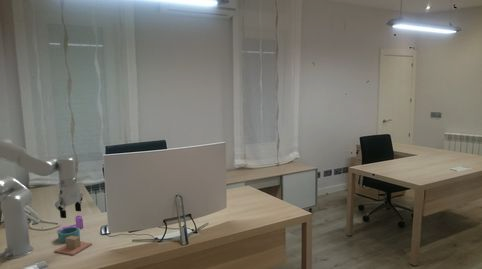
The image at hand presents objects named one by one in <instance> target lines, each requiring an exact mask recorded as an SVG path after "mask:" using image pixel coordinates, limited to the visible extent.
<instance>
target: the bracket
mask: <svg viewBox="0 0 482 269" xmlns="http://www.w3.org/2000/svg"><path fill="white" fill-rule="evenodd" d="M74 219H75V224H71V225H65V226H61V227H59V228H58V232H59V231H60V230H62V229H64V228H68V227H78V228H82V229H84V219H83V216H82V215H81V214H77V215H76V216H75V218H74Z"/></svg>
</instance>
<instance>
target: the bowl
mask: <svg viewBox="0 0 482 269" xmlns="http://www.w3.org/2000/svg"><path fill="white" fill-rule="evenodd" d="M80 234H81V233H80V229H79V228H78V227H68V228H64V229H62V230H60V231H59V230H58V231H57V236H58V237H57V238H58V241H59V243H65V244H66V239H65V238H67V237H69V236H77V237H80V238H81V235H80Z"/></svg>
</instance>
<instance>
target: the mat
mask: <svg viewBox="0 0 482 269" xmlns="http://www.w3.org/2000/svg"><path fill="white" fill-rule="evenodd" d="M89 247H91V246H89ZM89 247H87V248H86V249H88V248H89ZM86 249H84V250H86ZM84 250H82V251H80V252H79V253H81V252H83V251H84ZM53 253H55V254H58V253H57V252H54V251H53ZM79 253H77V254H75V255H70V256H71V257H72V256H73V257H74V256H76V255H78V254H79ZM59 254H61V255H63V254H62V253H59ZM65 255H67V256H69V255H68V254H65Z"/></svg>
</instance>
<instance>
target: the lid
mask: <svg viewBox="0 0 482 269" xmlns="http://www.w3.org/2000/svg"><path fill="white" fill-rule="evenodd" d="M65 239H66V243H65V244H64V245H62V246H60V247H58V248H56V249H55V250H53V253H54V252H57V253H56V254H60V253H62V254H61V255H66V254H68V255H67V256H71V255H74V256H76V255H78V254H79V253H81V252H83V251H84V249H85V250H86V249H88V248H89V246H90V247H92V246H93V242H86V241H81V236H80V237H77V236H69V237H67V238H65ZM87 247H88V248H87ZM82 250H83V251H82ZM80 251H81V252H80ZM77 253H78V254H77ZM75 254H76V255H75Z"/></svg>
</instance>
